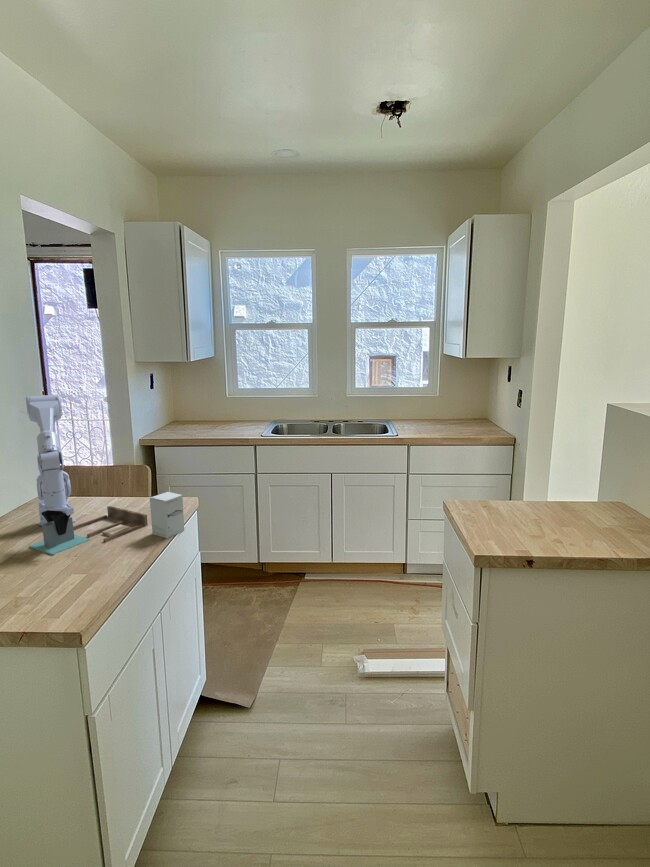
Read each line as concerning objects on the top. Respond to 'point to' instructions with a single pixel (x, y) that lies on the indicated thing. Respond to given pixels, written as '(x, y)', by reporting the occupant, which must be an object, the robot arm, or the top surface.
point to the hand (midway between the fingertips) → (59, 533)
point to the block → (52, 536)
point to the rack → (121, 515)
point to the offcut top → (115, 530)
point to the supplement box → (167, 514)
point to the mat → (60, 547)
